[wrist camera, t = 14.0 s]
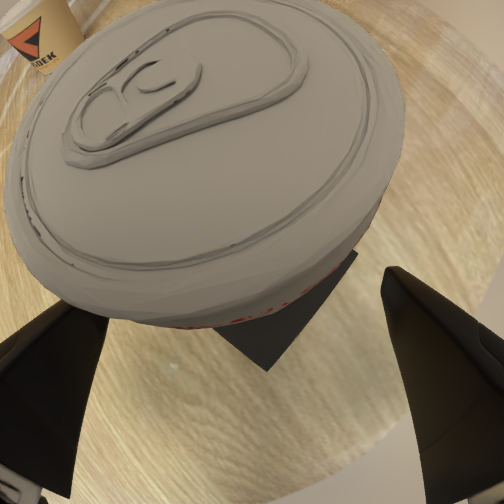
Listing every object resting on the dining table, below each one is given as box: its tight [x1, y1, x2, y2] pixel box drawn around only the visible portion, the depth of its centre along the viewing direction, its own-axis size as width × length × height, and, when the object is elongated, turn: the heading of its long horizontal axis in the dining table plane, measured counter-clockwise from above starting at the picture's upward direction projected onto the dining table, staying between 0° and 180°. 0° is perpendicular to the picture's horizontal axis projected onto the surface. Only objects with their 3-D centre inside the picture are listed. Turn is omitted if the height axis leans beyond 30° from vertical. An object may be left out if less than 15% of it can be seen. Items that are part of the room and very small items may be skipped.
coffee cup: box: [0, 0, 85, 75], centre depth 20 cm, size 9×9×12 cm
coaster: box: [213, 249, 358, 372], centre depth 18 cm, size 9×9×1 cm
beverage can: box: [4, 0, 405, 330], centre depth 10 cm, size 6×6×15 cm
